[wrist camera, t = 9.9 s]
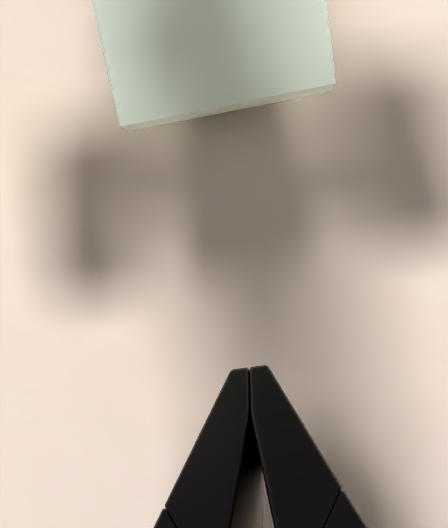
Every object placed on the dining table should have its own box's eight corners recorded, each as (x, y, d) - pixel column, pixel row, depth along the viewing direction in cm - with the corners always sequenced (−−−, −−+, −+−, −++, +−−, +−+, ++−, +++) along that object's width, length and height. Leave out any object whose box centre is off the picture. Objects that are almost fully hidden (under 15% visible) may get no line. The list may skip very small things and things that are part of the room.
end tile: (336, 83, 18) (308, -153, 17) (119, 126, 20) (72, -91, 18) (328, 92, 20) (303, -119, 19) (132, 131, 21) (91, -65, 20)
